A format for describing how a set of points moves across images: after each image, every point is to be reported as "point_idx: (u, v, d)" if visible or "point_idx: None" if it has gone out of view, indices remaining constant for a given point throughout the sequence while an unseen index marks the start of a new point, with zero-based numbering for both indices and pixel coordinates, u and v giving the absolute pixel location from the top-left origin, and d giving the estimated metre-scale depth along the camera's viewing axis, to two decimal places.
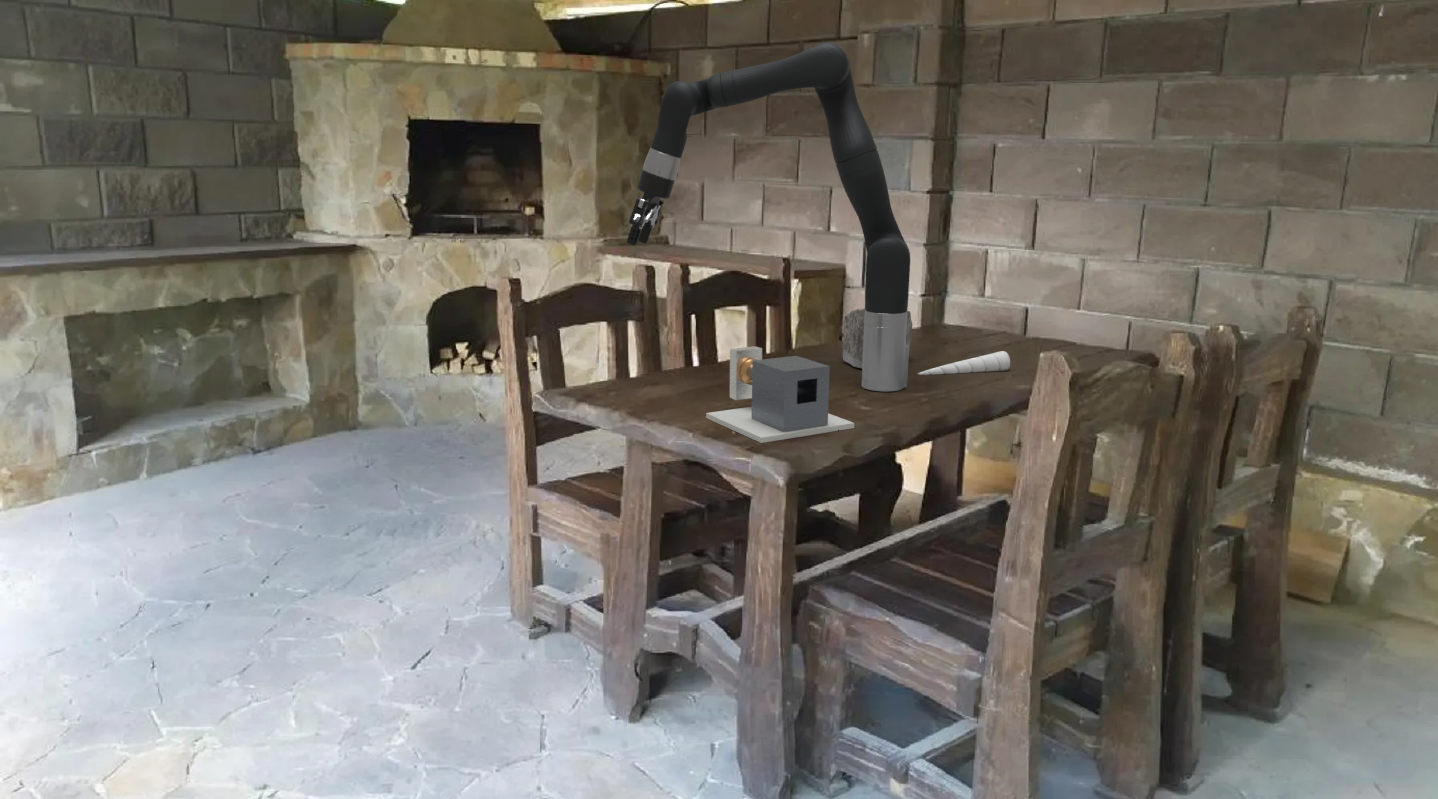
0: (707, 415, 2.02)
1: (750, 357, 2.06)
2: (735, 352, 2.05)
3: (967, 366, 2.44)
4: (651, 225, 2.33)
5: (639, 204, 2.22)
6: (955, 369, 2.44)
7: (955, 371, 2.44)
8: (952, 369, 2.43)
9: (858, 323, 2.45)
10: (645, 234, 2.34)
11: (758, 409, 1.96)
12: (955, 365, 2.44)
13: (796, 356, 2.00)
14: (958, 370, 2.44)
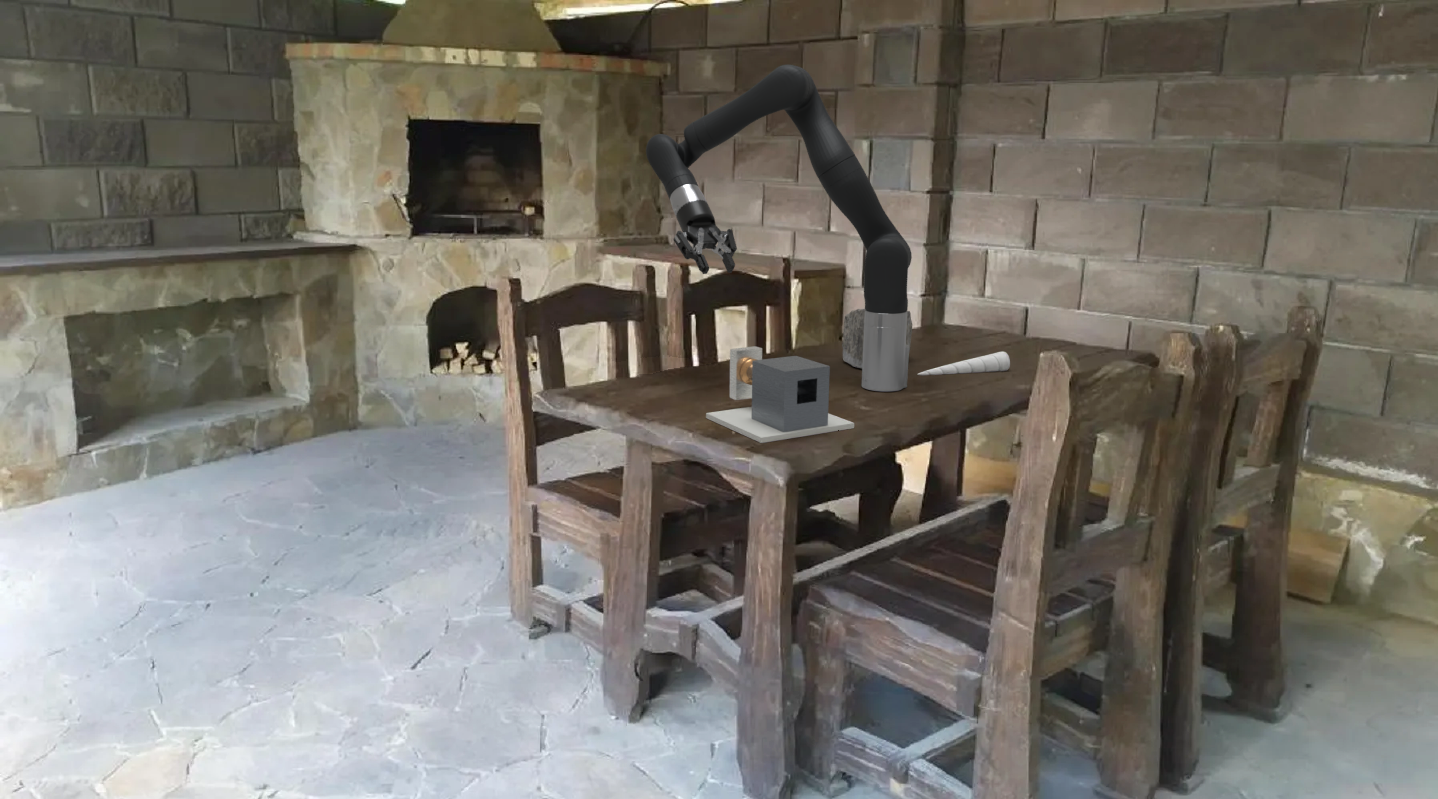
0: (707, 415, 2.02)
1: (750, 357, 2.06)
2: (735, 352, 2.05)
3: (966, 367, 2.44)
4: (724, 251, 2.21)
5: (676, 240, 2.19)
6: (955, 370, 2.44)
7: (955, 372, 2.44)
8: (952, 369, 2.43)
9: (858, 323, 2.45)
10: (727, 262, 2.20)
11: (758, 409, 1.96)
12: (955, 366, 2.44)
13: (796, 356, 2.00)
14: (958, 371, 2.44)
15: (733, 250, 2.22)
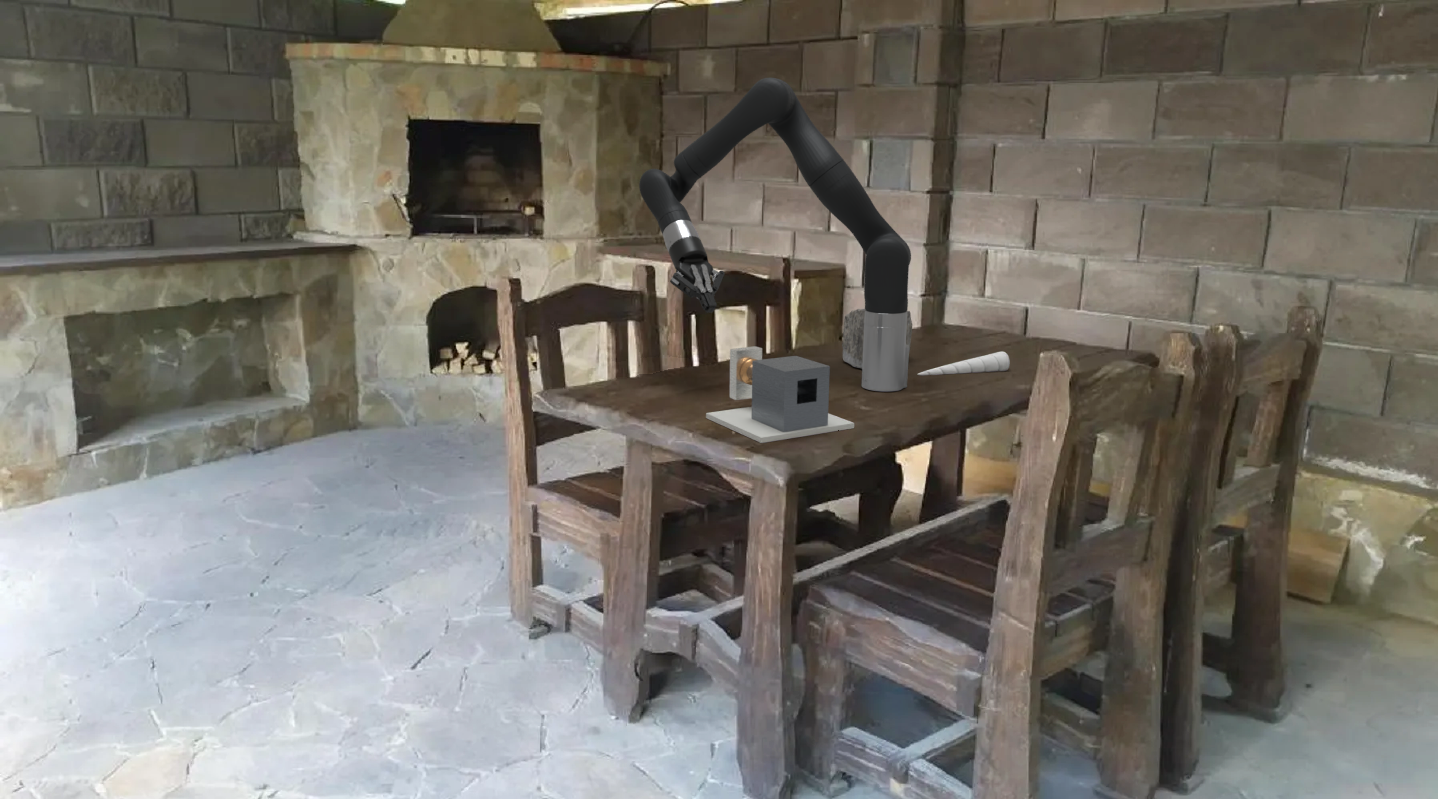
0: (707, 415, 2.02)
1: (750, 357, 2.06)
2: (735, 352, 2.05)
3: (966, 367, 2.44)
4: (706, 289, 2.19)
5: (675, 282, 2.18)
6: (954, 370, 2.44)
7: (954, 372, 2.44)
8: (951, 369, 2.43)
9: (858, 323, 2.45)
10: None
11: (758, 409, 1.96)
12: (954, 365, 2.44)
13: (796, 356, 2.00)
14: (957, 370, 2.44)
15: (715, 289, 2.20)
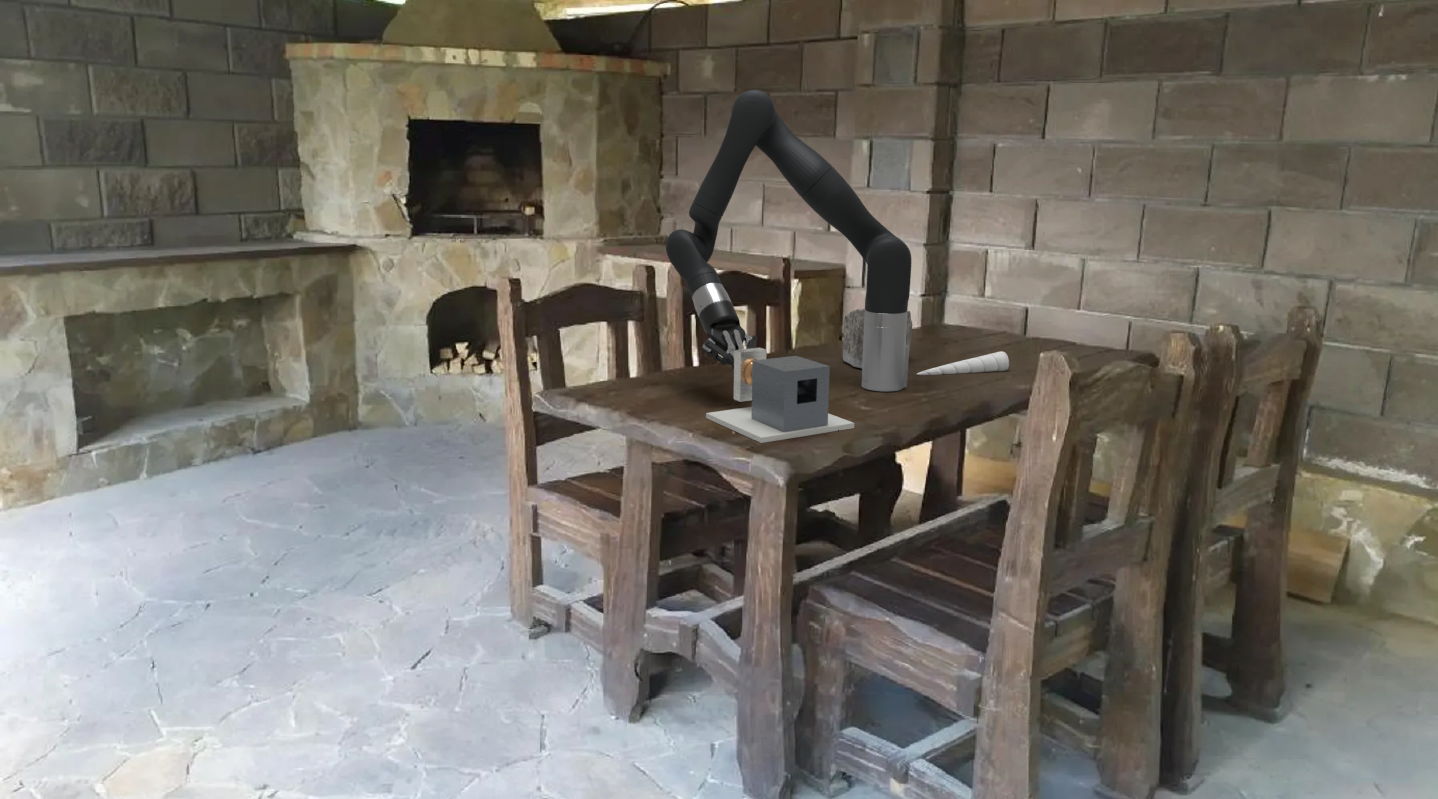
0: (707, 415, 2.02)
1: (754, 358, 2.05)
2: (739, 353, 2.03)
3: (965, 367, 2.44)
4: None
5: (707, 350, 2.09)
6: (954, 369, 2.43)
7: (954, 371, 2.43)
8: (951, 369, 2.43)
9: (858, 323, 2.45)
10: None
11: (758, 409, 1.96)
12: (954, 365, 2.44)
13: (796, 356, 2.00)
14: (957, 370, 2.44)
15: None
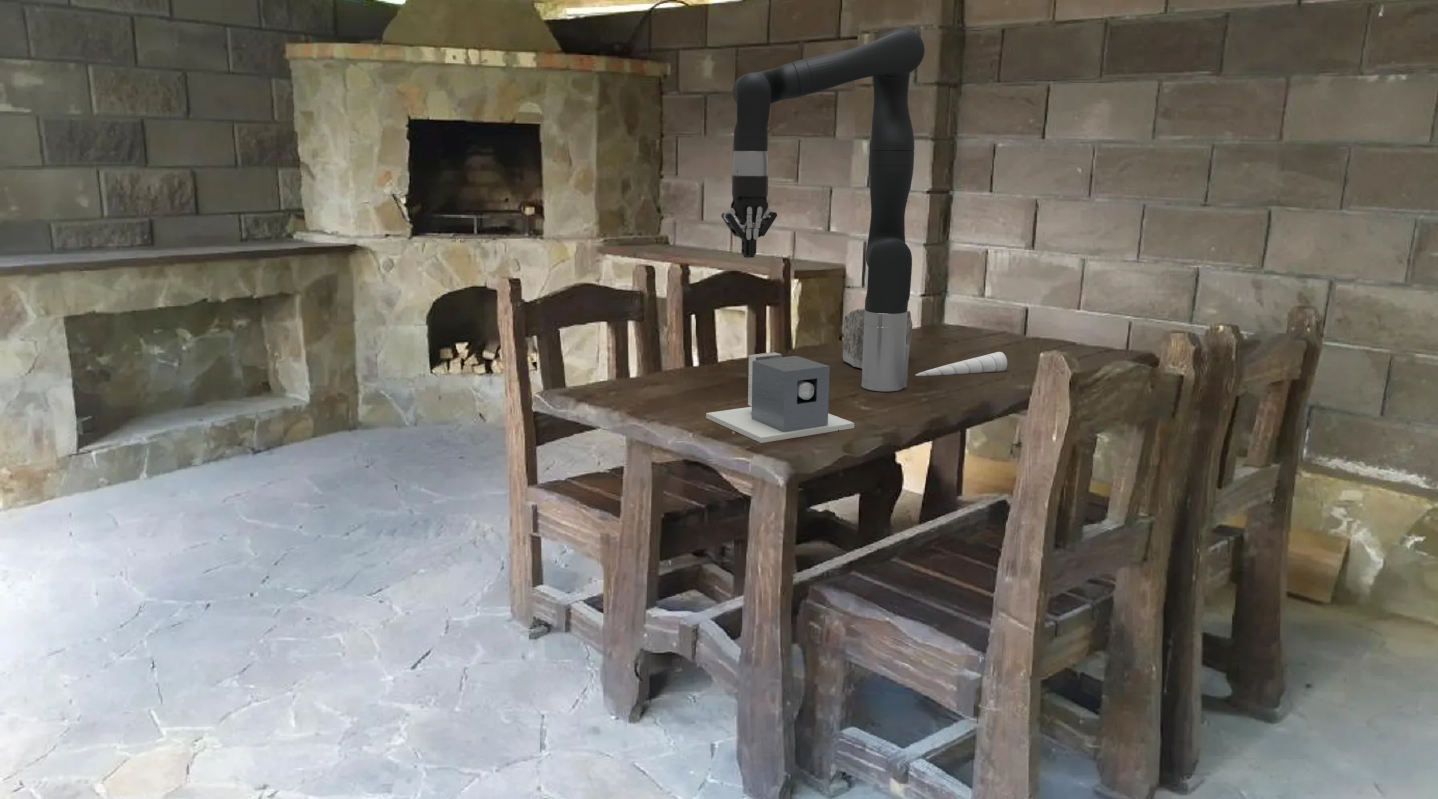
0: (707, 415, 2.02)
1: None
2: (754, 358, 1.99)
3: (964, 368, 2.43)
4: (752, 234, 2.17)
5: (725, 220, 2.14)
6: (952, 370, 2.43)
7: (952, 372, 2.43)
8: (949, 370, 2.43)
9: (858, 323, 2.45)
10: None
11: (758, 409, 1.96)
12: (952, 366, 2.43)
13: (796, 356, 2.00)
14: (955, 371, 2.43)
15: (760, 235, 2.18)
